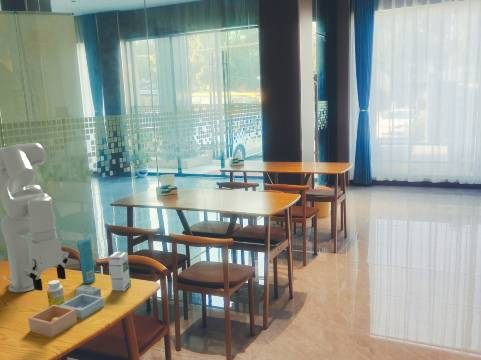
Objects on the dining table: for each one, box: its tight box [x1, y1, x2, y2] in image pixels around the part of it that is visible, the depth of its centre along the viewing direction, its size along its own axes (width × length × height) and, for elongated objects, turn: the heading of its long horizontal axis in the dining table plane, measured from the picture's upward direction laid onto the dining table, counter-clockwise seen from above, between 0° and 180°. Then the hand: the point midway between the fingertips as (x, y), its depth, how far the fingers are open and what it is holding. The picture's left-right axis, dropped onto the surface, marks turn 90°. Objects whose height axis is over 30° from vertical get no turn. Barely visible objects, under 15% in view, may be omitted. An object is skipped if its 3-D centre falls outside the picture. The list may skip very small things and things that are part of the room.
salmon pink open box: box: [27, 305, 78, 338], centre depth 156 cm, size 11×11×6 cm
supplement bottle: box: [46, 279, 66, 307], centre depth 172 cm, size 6×6×10 cm
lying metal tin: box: [75, 284, 102, 298], centre depth 179 cm, size 9×4×4 cm, turn 64°
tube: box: [76, 235, 96, 284], centre depth 194 cm, size 7×5×19 cm, turn 158°
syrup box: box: [107, 251, 132, 292], centre depth 186 cm, size 6×6×14 cm
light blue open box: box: [60, 294, 105, 320], centre depth 168 cm, size 11×11×4 cm
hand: (50, 284), depth 154 cm, fingers open, 9 cm apart
